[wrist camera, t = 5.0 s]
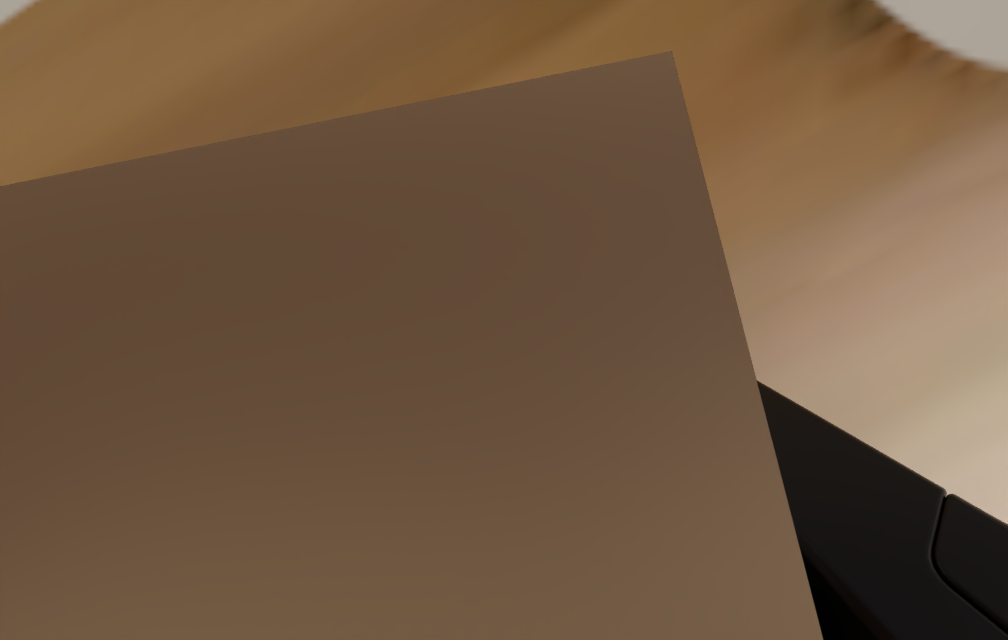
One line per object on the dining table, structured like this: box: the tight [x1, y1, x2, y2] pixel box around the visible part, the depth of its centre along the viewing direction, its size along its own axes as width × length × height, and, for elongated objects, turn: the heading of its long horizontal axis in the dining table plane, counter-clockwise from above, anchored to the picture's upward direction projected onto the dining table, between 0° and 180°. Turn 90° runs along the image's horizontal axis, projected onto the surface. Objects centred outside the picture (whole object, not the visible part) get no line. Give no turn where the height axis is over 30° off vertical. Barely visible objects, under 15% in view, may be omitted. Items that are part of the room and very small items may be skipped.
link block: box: [0, 51, 823, 640], centre depth 10 cm, size 5×5×11 cm
